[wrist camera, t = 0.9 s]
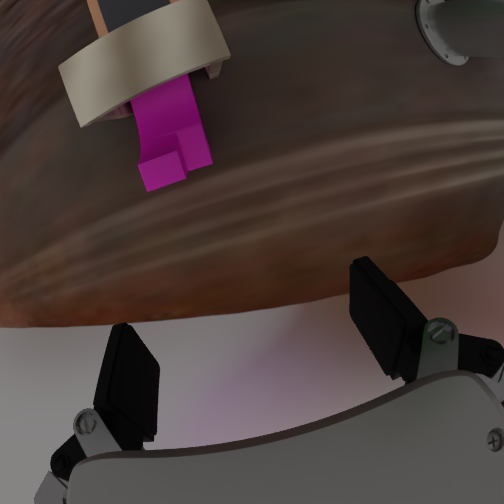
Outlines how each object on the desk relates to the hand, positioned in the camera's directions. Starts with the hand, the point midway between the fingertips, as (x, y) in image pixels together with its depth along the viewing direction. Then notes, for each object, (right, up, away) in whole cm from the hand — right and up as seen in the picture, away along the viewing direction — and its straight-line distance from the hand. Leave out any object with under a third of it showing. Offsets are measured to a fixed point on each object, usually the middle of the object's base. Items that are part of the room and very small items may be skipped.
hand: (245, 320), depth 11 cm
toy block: (-9, +19, +15) cm, 26 cm away
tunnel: (-9, +22, +13) cm, 27 cm away
